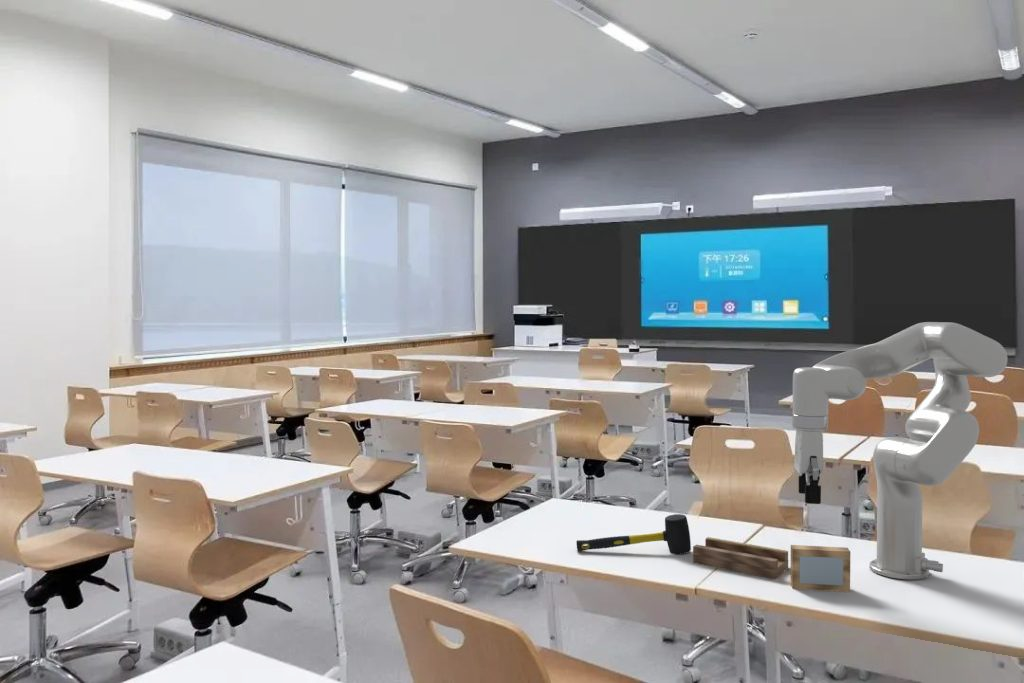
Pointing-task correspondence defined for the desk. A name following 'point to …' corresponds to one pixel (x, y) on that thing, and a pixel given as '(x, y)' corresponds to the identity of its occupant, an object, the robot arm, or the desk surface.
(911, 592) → the desk surface
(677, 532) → the mallet
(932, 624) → the desk surface
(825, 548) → the wooden picture frame
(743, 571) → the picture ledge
